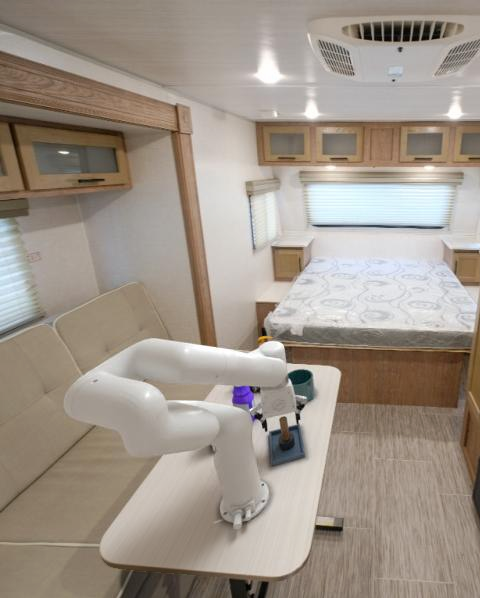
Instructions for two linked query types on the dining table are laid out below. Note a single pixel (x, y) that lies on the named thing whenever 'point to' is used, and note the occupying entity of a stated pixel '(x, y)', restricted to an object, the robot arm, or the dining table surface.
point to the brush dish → (288, 455)
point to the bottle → (243, 398)
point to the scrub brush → (285, 435)
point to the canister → (302, 383)
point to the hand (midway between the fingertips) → (282, 425)
